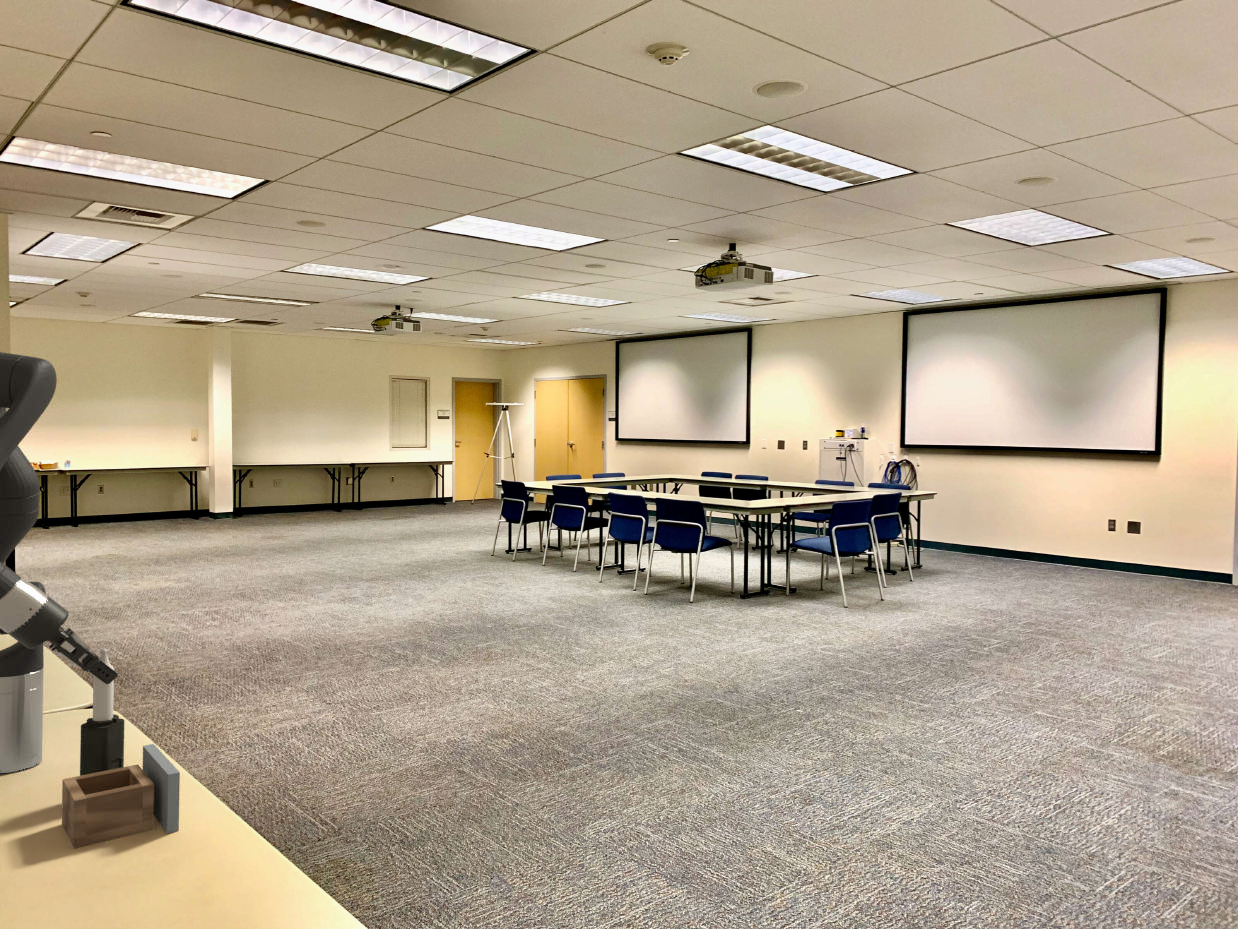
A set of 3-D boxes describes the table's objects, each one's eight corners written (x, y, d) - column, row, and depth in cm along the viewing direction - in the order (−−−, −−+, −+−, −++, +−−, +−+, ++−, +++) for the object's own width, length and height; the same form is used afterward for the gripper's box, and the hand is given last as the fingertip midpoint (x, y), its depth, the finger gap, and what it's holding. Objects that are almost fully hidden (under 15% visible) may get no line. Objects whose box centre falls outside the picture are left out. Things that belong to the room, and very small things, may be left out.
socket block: (61, 824, 133) (62, 779, 133) (137, 807, 139) (137, 764, 139) (73, 848, 125) (74, 801, 125) (153, 829, 132) (153, 784, 132)
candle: (102, 806, 139) (105, 653, 139) (75, 803, 140) (78, 651, 140) (126, 794, 144) (129, 646, 144) (100, 791, 145) (103, 644, 145)
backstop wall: (141, 799, 142) (142, 745, 142) (152, 797, 143) (153, 743, 143) (167, 833, 130) (168, 774, 130) (178, 830, 131) (179, 772, 131)
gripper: (52, 600, 131) (135, 664, 139) (39, 588, 142) (117, 648, 150) (10, 639, 128) (97, 702, 135) (-1, 623, 138) (81, 683, 146)
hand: (107, 674), depth 142 cm, fingers open, 8 cm apart
